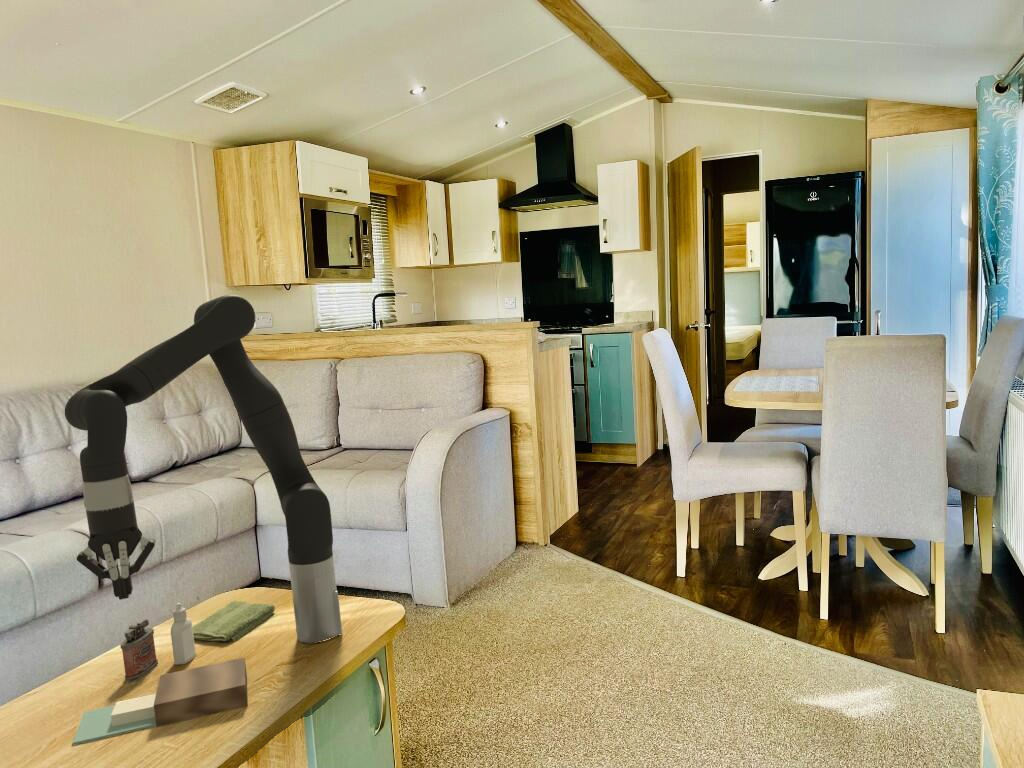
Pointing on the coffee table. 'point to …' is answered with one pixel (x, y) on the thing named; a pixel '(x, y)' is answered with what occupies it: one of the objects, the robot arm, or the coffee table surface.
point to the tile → (133, 710)
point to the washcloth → (232, 621)
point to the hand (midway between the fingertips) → (124, 597)
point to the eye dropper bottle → (182, 637)
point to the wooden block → (201, 691)
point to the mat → (105, 725)
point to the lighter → (138, 651)
